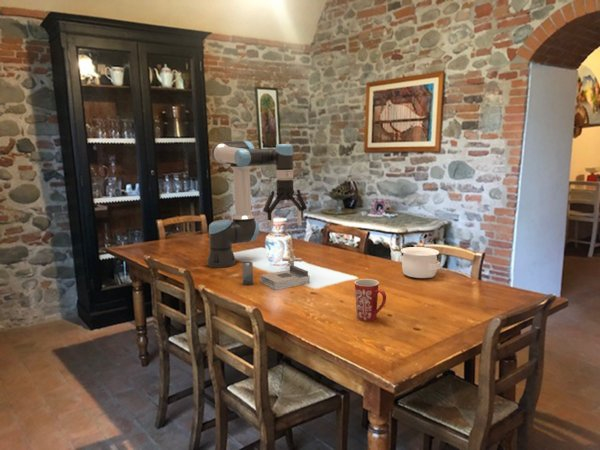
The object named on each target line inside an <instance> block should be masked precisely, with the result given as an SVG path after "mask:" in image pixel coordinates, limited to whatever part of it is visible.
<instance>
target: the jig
mask: <svg viewBox="0 0 600 450" xmlns="http://www.w3.org/2000/svg"><path fill="white" fill-rule="evenodd" d="M259 275H260V283H261V284H263V285H265V286H267V287H269V288H271V289H273V290H275V291H277V290H282V289H287V288H293V287H297V286H302V285H307V284H308V285H309V284H310V283H311V282H310V281H311V280H310V275H309V272H308V270H305V269H303V268H300V267H298V266H295V265H294V266H290V265H289V269H286V270H281V271H275V272H270V273H264V274H263V273H262V274H259Z"/></svg>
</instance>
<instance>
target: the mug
mask: <svg viewBox="0 0 600 450" xmlns="http://www.w3.org/2000/svg"><path fill="white" fill-rule="evenodd" d="M353 283H354V292H355V308H356V309H355V310H356V313H355V314H356V318H357V320H360V321H365V322H367V321H368V322H369V321H375V320H376V319H377V315H378V313H379V312H380V311H381V310H382V309H383V308H384V307H385V304H386V302H387V294H386V292H385V290H383V289H379V284H380V282H379V281H378V280H376V279H371V278H361V279H356V280H355V281H354V282H353ZM379 293H380V294H381V296H382V301H381V304H380V305H379V307H378V298H379Z"/></svg>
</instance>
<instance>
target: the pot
mask: <svg viewBox="0 0 600 450" xmlns="http://www.w3.org/2000/svg"><path fill="white" fill-rule="evenodd" d="M400 252H401V253H402V255H399V261H398V262H400V263H401V267H402V274H403V275H405V276H407V277H410V278H416V279H429V278H433V277H435V276H436V273H437V272H438V270H441V262H440V261H438V258H437V257H438V256H439V254H440V251H439V250H437V249H435V248H430V247H422V246H413V247H412V246H409V247H403V248H401V250H400Z"/></svg>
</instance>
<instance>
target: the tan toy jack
mask: <svg viewBox="0 0 600 450" xmlns="http://www.w3.org/2000/svg"><path fill="white" fill-rule="evenodd" d="M289 255H290V256H289V257H282V259H281V261H283V262H287V263H288V264H289V267H290V266H295V262H299V263H300V262H301V263H302V262H303V258H302V257H296V255H295V251H294V249H290V251H289Z"/></svg>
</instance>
